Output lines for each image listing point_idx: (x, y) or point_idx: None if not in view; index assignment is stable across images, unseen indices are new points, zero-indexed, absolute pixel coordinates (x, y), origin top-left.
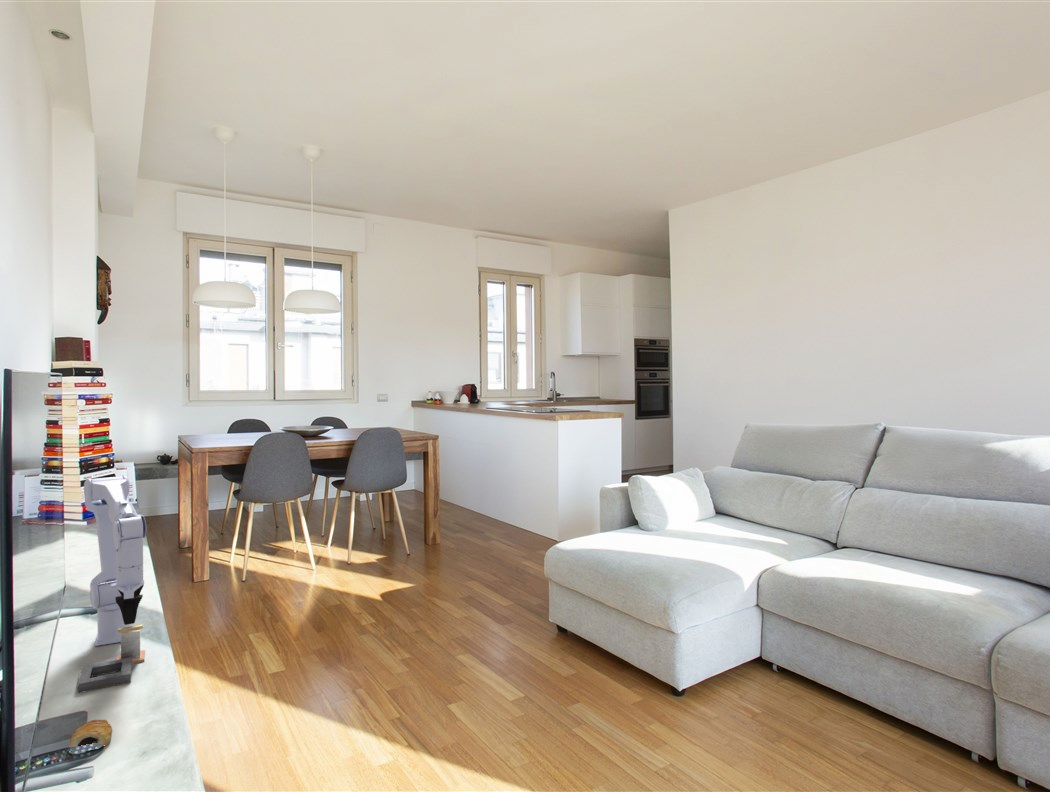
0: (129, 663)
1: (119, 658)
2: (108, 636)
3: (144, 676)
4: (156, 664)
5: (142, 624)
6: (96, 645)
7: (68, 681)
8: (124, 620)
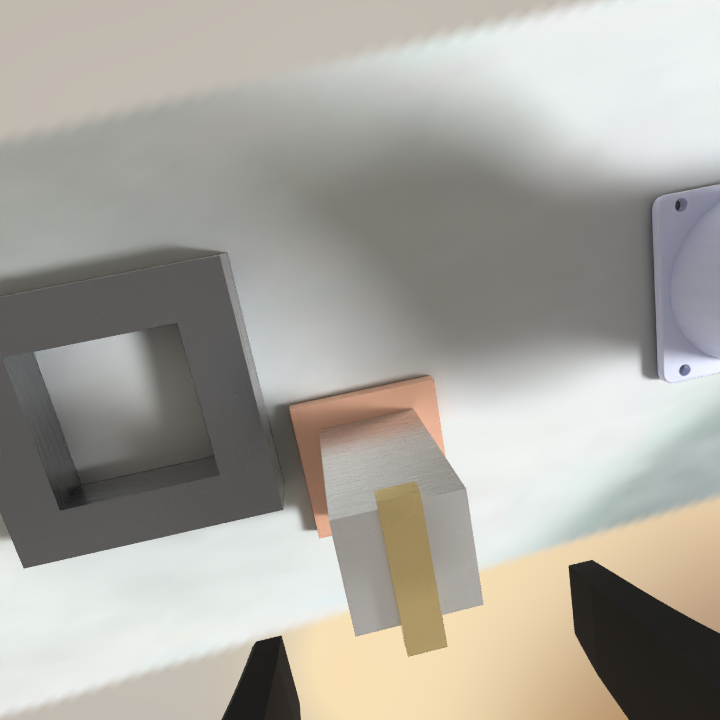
0: (187, 520)
1: (373, 407)
2: (698, 273)
3: (113, 582)
4: (259, 597)
5: (445, 645)
6: (655, 207)
7: (146, 195)
8: (242, 683)
